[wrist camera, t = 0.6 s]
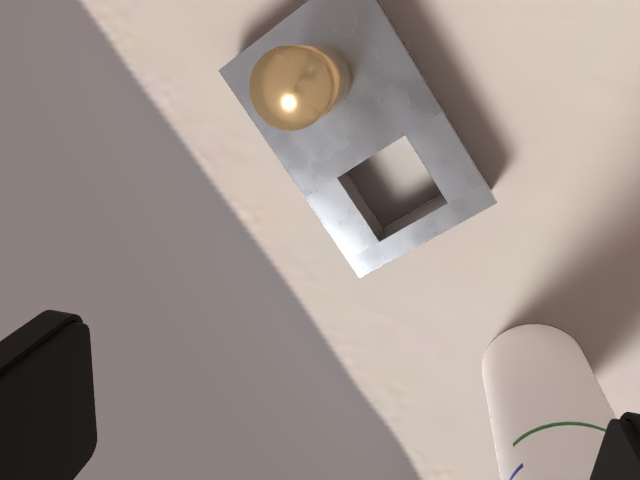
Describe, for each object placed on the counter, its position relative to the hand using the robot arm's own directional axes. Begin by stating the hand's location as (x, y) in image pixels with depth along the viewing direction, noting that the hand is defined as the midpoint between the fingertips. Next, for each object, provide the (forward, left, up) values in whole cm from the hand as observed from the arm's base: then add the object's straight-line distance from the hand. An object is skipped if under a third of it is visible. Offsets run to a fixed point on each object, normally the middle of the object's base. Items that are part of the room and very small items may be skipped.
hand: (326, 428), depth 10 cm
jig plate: (-1, -3, -28) cm, 28 cm away
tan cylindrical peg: (-4, -5, -25) cm, 26 cm away
